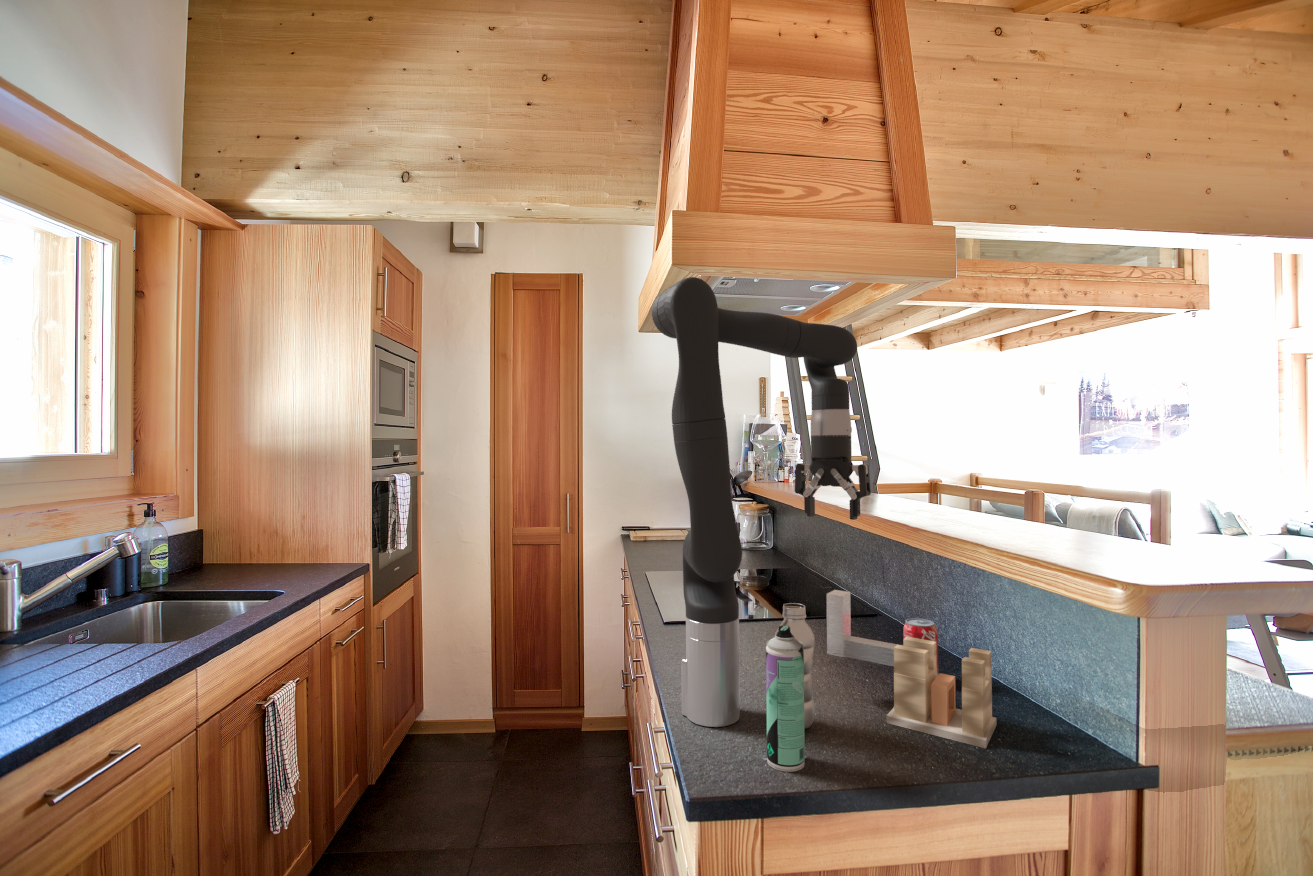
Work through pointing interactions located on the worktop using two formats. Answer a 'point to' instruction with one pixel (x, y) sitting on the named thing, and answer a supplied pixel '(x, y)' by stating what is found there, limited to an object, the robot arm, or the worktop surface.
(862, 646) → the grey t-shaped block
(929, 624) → the soda can
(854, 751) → the worktop surface
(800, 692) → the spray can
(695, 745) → the worktop surface
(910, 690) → the stand
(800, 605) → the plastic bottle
